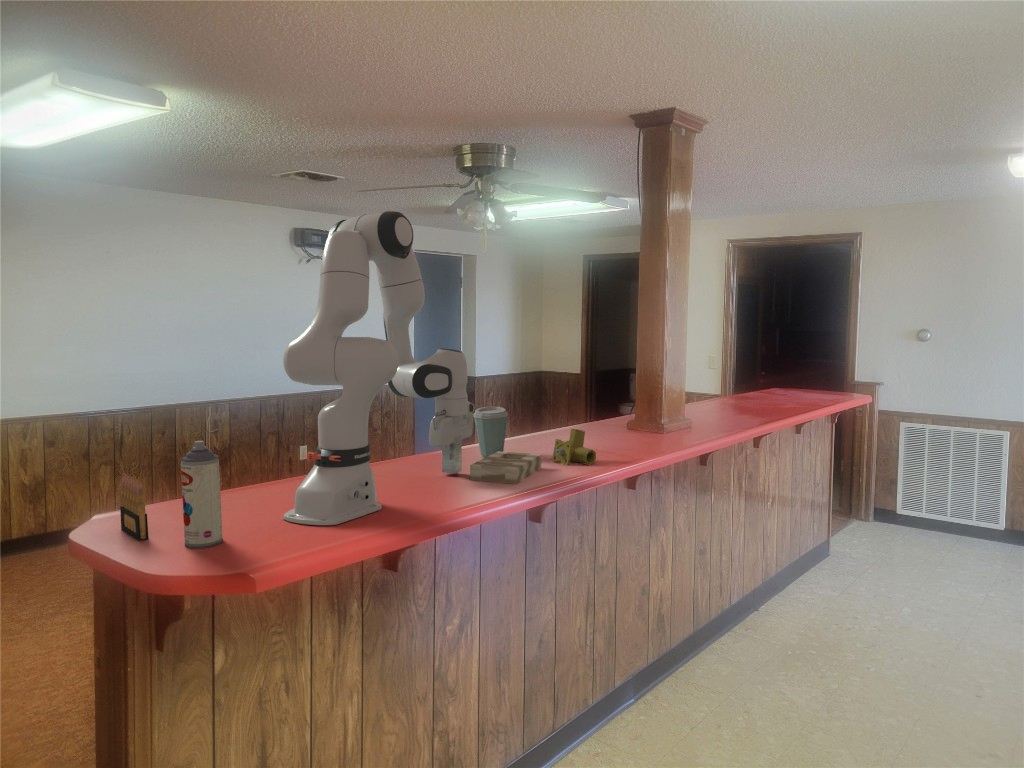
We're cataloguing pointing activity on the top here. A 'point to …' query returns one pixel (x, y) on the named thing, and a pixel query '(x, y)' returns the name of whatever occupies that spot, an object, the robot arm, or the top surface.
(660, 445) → the top surface
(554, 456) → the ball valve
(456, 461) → the square bit
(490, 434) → the disposable coffee cup
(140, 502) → the ammunition clip
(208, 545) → the aerosol can
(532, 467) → the tan flat slatted block
